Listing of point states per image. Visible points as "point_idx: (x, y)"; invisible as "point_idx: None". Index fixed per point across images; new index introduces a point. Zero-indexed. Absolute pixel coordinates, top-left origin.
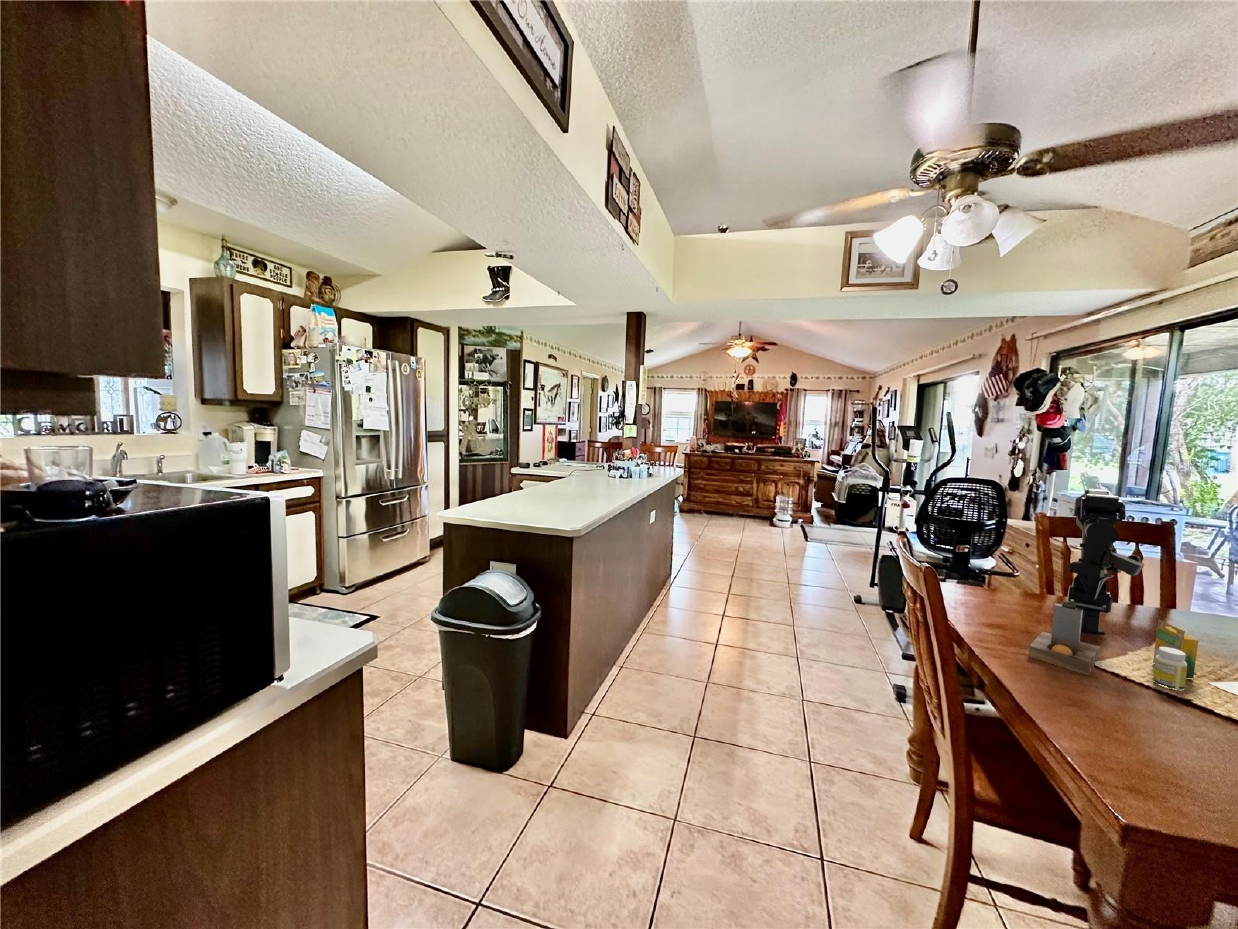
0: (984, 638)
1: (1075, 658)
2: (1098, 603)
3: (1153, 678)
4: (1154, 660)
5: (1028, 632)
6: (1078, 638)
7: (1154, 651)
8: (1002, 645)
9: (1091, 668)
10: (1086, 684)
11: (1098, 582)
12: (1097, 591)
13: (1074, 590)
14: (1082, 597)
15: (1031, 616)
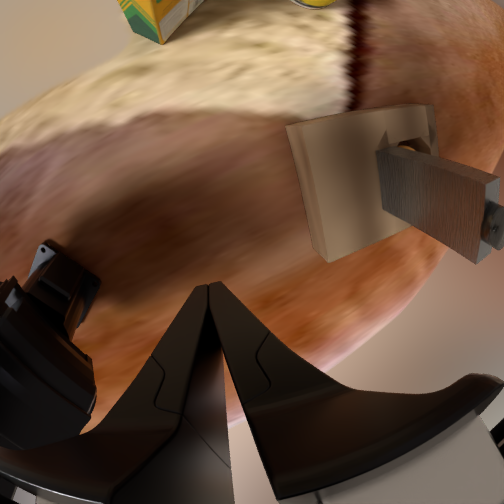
0: (394, 289)
1: (433, 131)
2: (33, 314)
3: (323, 6)
4: (164, 37)
5: (269, 301)
6: (419, 152)
7: (159, 30)
8: (402, 257)
9: (387, 106)
10: (441, 97)
11: (335, 383)
12: (227, 318)
13: (89, 403)
14: (73, 363)
15: (135, 366)
